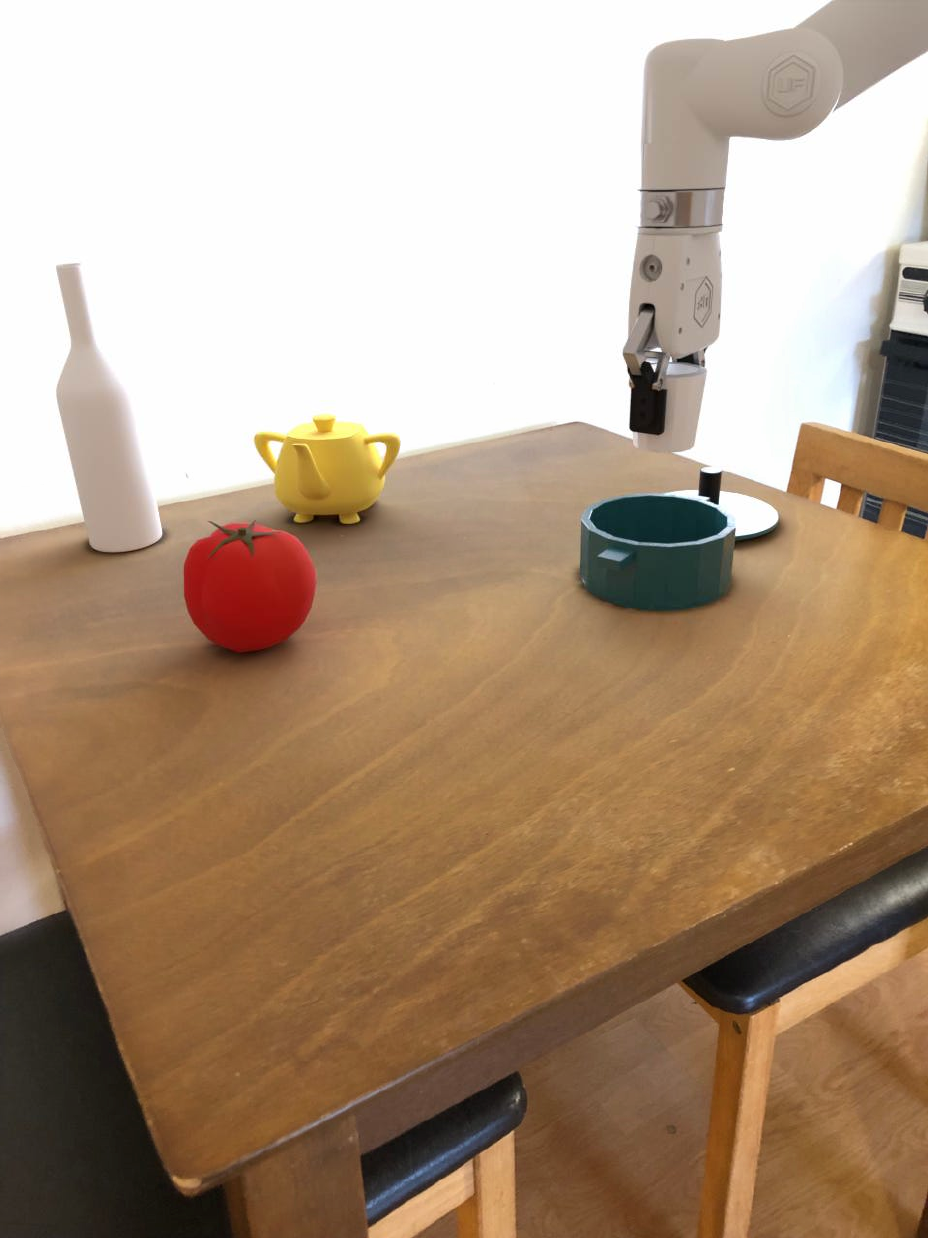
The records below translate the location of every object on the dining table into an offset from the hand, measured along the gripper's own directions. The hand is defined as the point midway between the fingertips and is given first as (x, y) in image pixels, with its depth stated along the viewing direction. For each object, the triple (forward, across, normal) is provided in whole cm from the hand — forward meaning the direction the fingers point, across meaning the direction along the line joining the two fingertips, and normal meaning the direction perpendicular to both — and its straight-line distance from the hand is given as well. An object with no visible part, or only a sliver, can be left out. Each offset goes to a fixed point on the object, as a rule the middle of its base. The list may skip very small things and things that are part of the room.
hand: (665, 421), depth 86 cm
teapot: (+16, -4, +41) cm, 44 cm away
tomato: (+16, -31, +24) cm, 42 cm away
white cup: (+2, 0, 0) cm, 2 cm away
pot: (+16, 0, 0) cm, 16 cm away
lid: (+15, +18, +2) cm, 24 cm away
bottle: (+16, -22, +56) cm, 62 cm away
